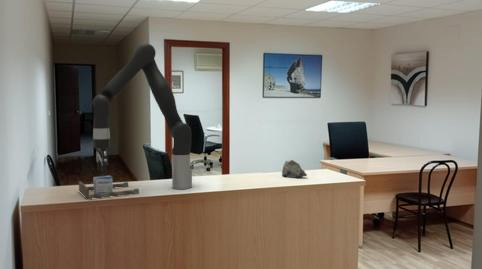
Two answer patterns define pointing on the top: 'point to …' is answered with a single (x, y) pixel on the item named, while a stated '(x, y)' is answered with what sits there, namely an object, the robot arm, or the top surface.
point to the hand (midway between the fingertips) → (102, 171)
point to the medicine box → (102, 184)
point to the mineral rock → (292, 170)
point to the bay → (85, 192)
